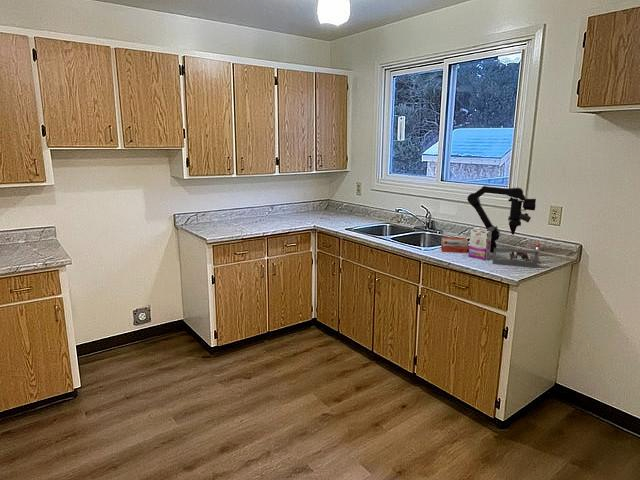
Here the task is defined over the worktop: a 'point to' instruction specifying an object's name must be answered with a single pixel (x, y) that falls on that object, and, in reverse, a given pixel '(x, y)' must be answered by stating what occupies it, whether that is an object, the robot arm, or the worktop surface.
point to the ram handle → (536, 250)
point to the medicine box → (454, 245)
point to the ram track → (532, 259)
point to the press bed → (515, 262)
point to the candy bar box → (480, 244)
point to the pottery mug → (523, 255)
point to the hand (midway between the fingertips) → (512, 234)
